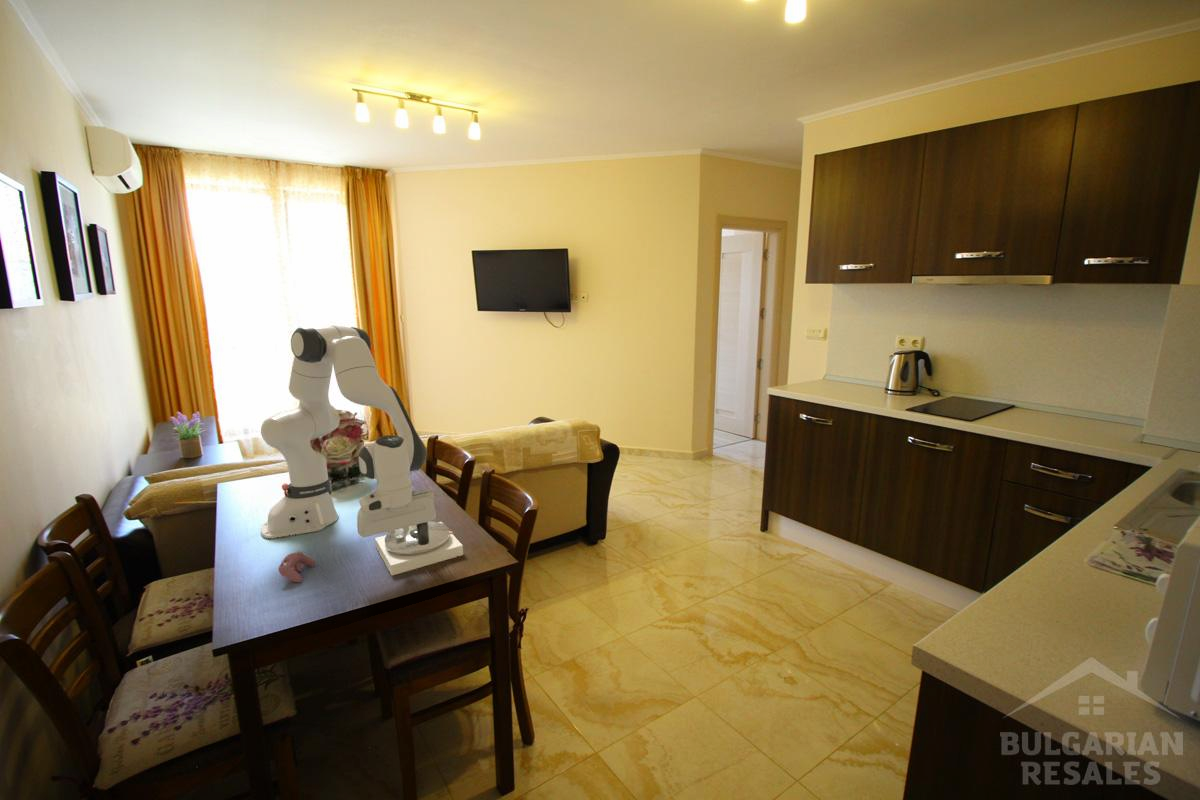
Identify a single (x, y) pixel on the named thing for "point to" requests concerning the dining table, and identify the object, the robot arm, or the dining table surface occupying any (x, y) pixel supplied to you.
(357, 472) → the rose bouquet
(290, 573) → the pink curved piece
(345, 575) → the dining table surface
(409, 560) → the wheel base
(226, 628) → the dining table surface
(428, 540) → the handwheel
